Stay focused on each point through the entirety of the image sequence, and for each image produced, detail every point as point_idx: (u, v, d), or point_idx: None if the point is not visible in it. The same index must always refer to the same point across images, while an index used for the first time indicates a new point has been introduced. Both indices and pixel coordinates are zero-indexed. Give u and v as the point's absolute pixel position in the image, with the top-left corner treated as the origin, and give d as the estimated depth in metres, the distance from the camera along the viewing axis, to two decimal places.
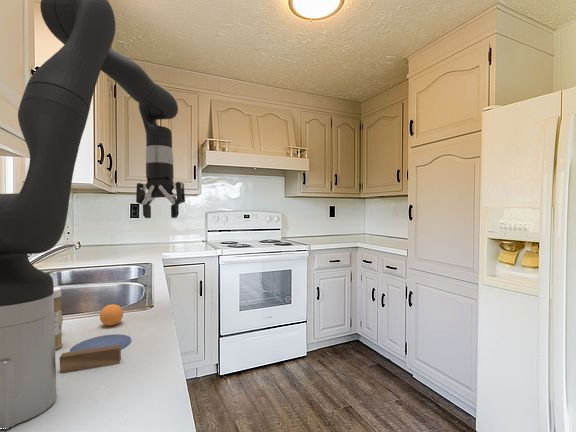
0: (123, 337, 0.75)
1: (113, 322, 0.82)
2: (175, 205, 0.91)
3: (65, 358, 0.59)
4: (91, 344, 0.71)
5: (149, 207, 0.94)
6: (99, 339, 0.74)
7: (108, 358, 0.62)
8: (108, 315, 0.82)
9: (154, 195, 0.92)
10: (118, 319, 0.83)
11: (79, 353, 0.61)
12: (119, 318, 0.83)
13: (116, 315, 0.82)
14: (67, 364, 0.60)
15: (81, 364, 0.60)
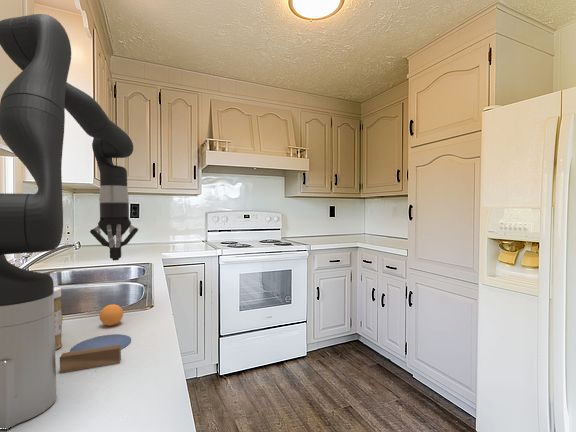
0: (123, 337, 0.75)
1: (113, 322, 0.82)
2: None
3: (65, 358, 0.59)
4: (91, 344, 0.71)
5: None
6: (99, 339, 0.74)
7: (108, 358, 0.62)
8: (108, 315, 0.82)
9: None
10: (118, 319, 0.83)
11: (79, 353, 0.61)
12: (119, 318, 0.83)
13: (116, 315, 0.82)
14: (67, 364, 0.60)
15: (81, 364, 0.60)
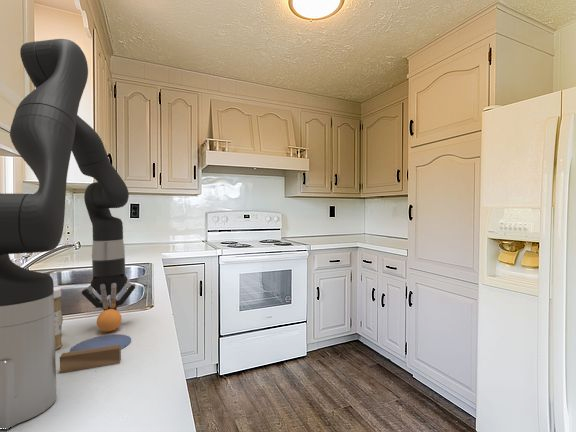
0: (123, 337, 0.75)
1: None
2: None
3: (65, 358, 0.59)
4: (91, 344, 0.71)
5: None
6: (99, 339, 0.74)
7: (108, 358, 0.62)
8: (106, 331, 0.79)
9: None
10: None
11: (79, 353, 0.61)
12: None
13: (114, 329, 0.80)
14: (67, 364, 0.60)
15: (81, 364, 0.60)
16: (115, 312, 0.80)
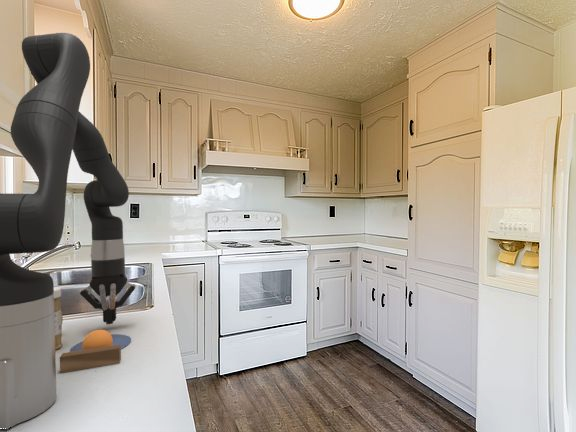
0: (123, 337, 0.75)
1: None
2: None
3: (65, 358, 0.59)
4: None
5: None
6: None
7: (108, 358, 0.62)
8: None
9: None
10: None
11: (79, 353, 0.61)
12: None
13: None
14: (67, 364, 0.60)
15: (81, 364, 0.60)
16: (106, 331, 0.67)
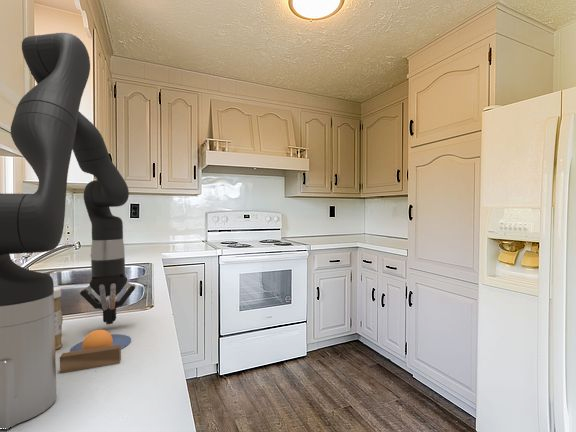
0: (123, 337, 0.75)
1: None
2: None
3: (65, 358, 0.59)
4: None
5: None
6: None
7: (108, 358, 0.62)
8: None
9: None
10: None
11: (79, 353, 0.61)
12: None
13: None
14: (67, 364, 0.60)
15: (81, 364, 0.60)
16: (106, 331, 0.67)
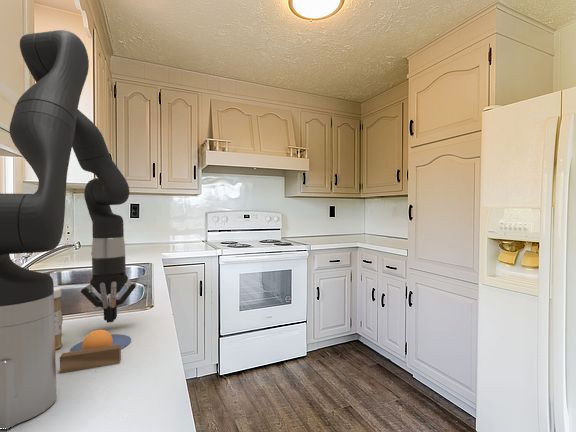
0: (123, 337, 0.75)
1: None
2: None
3: (65, 358, 0.59)
4: None
5: None
6: None
7: (108, 358, 0.62)
8: None
9: None
10: None
11: (79, 353, 0.61)
12: None
13: None
14: (67, 364, 0.60)
15: (81, 364, 0.60)
16: (106, 331, 0.67)
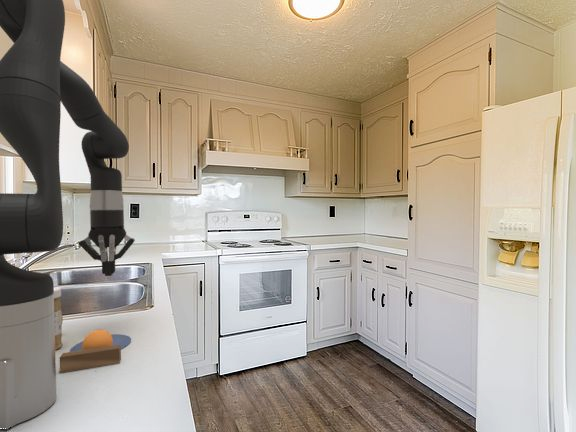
0: (123, 337, 0.75)
1: None
2: None
3: (65, 358, 0.59)
4: None
5: None
6: None
7: (108, 358, 0.62)
8: None
9: None
10: None
11: (79, 353, 0.61)
12: None
13: None
14: (67, 364, 0.60)
15: (81, 364, 0.60)
16: (106, 331, 0.67)
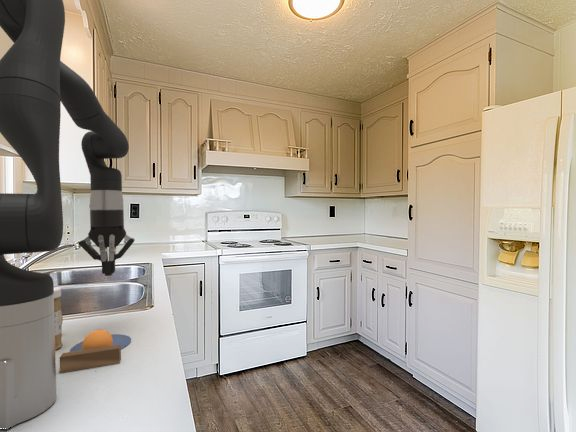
0: (123, 337, 0.75)
1: None
2: None
3: (65, 358, 0.59)
4: None
5: None
6: None
7: (108, 358, 0.62)
8: None
9: None
10: None
11: (79, 353, 0.61)
12: None
13: None
14: (67, 364, 0.60)
15: (81, 364, 0.60)
16: (106, 331, 0.67)
